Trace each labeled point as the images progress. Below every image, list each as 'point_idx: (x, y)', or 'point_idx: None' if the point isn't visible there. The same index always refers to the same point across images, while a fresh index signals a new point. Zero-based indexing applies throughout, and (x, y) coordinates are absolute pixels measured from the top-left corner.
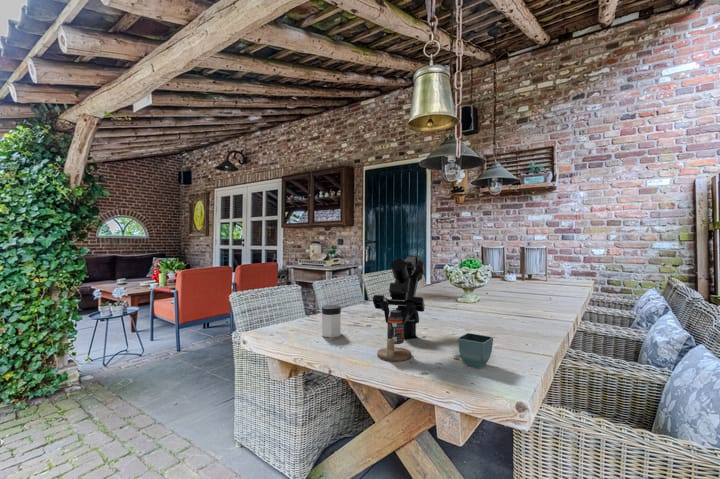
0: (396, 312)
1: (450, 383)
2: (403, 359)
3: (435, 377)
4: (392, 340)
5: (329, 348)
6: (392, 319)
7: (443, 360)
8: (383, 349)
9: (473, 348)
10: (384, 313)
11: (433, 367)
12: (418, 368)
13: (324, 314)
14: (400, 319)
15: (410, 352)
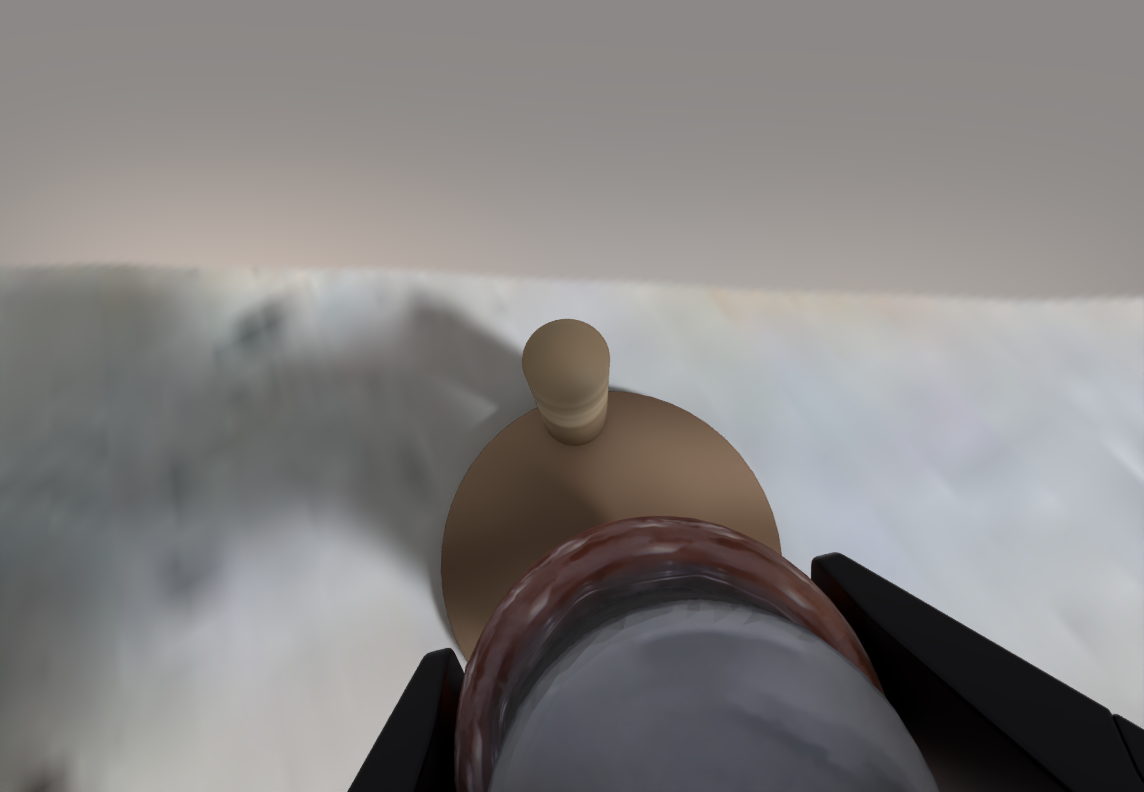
0: (583, 640)
1: (83, 269)
2: (474, 464)
3: (180, 303)
4: (534, 346)
5: None
6: (655, 522)
7: (159, 677)
8: None
9: None
10: (1071, 688)
11: (219, 463)
12: (321, 385)
13: None
14: (484, 635)
15: (468, 647)
